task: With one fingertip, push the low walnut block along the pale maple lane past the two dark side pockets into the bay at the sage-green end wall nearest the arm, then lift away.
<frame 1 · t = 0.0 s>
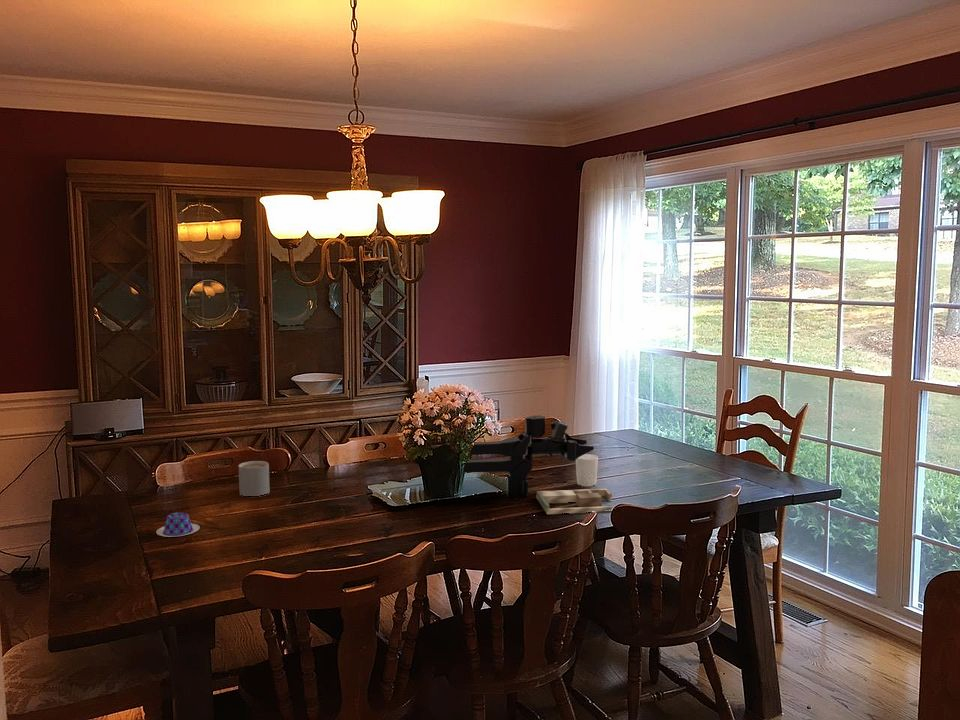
hand: (590, 444, 271), 17 cm above the table, tool horizontal, fingers open, 9 cm apart
coffee mug: (254, 492, 275), on the table
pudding: (178, 532, 234), on the table
white cup: (586, 484, 283), on the table
trap lane: (577, 504, 259), on the table
walnut block: (588, 507, 256), resting in trap lane
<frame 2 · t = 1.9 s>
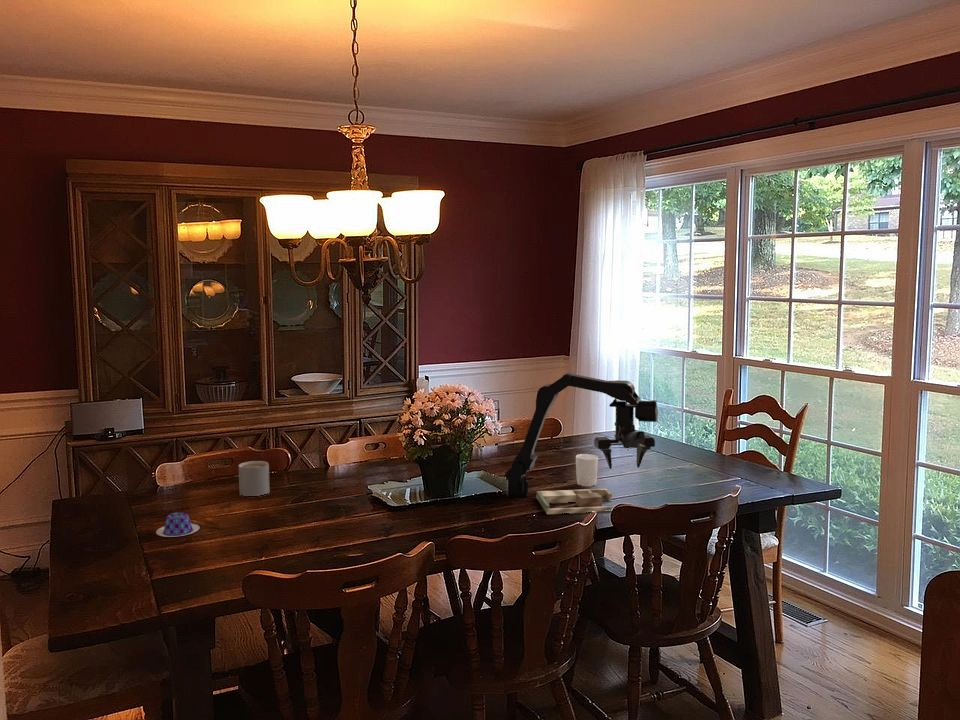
hand: (624, 468, 256), 12 cm above the table, tool pointing down, fingers open, 9 cm apart
nothing on the table moved.
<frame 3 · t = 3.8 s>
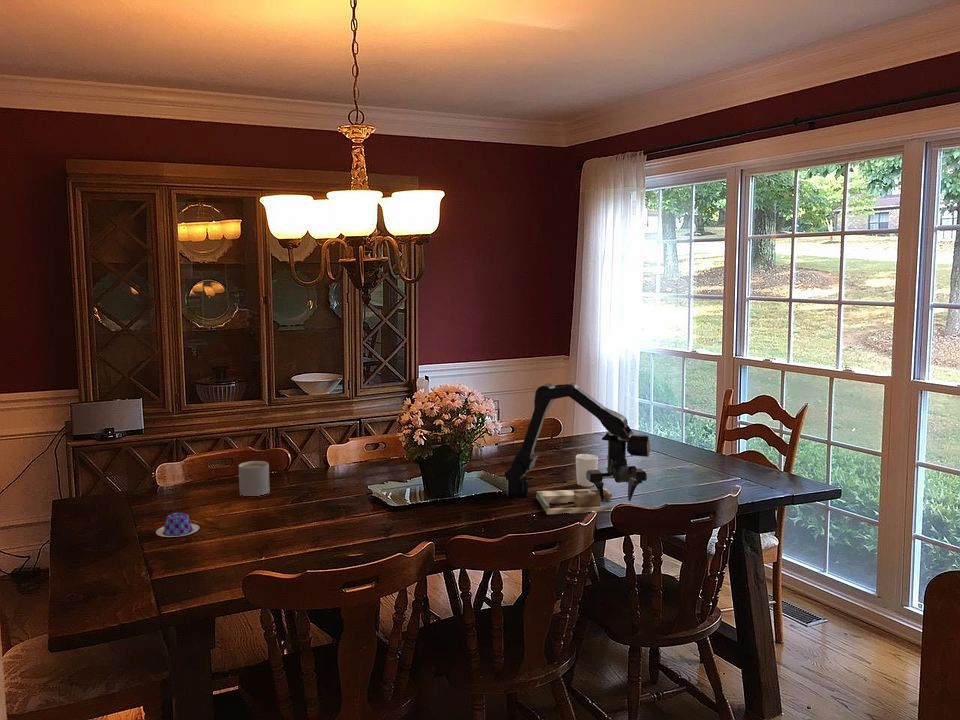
hand: (615, 501, 257), 1 cm above the table, tool pointing down, fingers open, 9 cm apart
walnut block: (587, 507, 256), resting in trap lane, touching gripper
everything else where it was.
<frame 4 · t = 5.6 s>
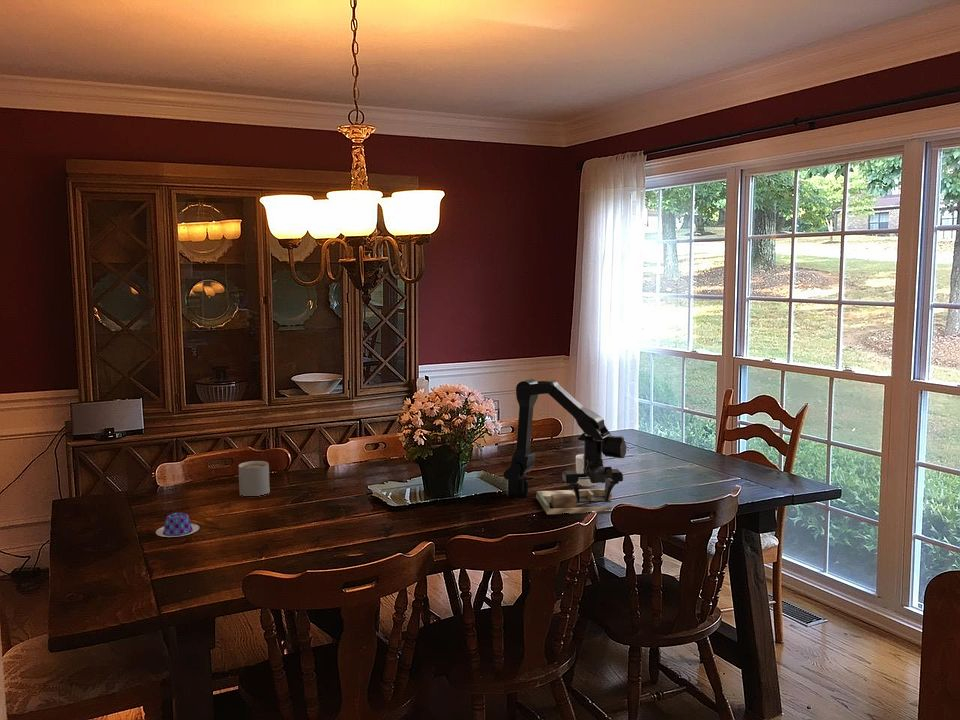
hand: (592, 502, 256), 2 cm above the table, tool pointing down, fingers open, 9 cm apart
walnut block: (563, 508, 256), resting in trap lane
everything else where it was.
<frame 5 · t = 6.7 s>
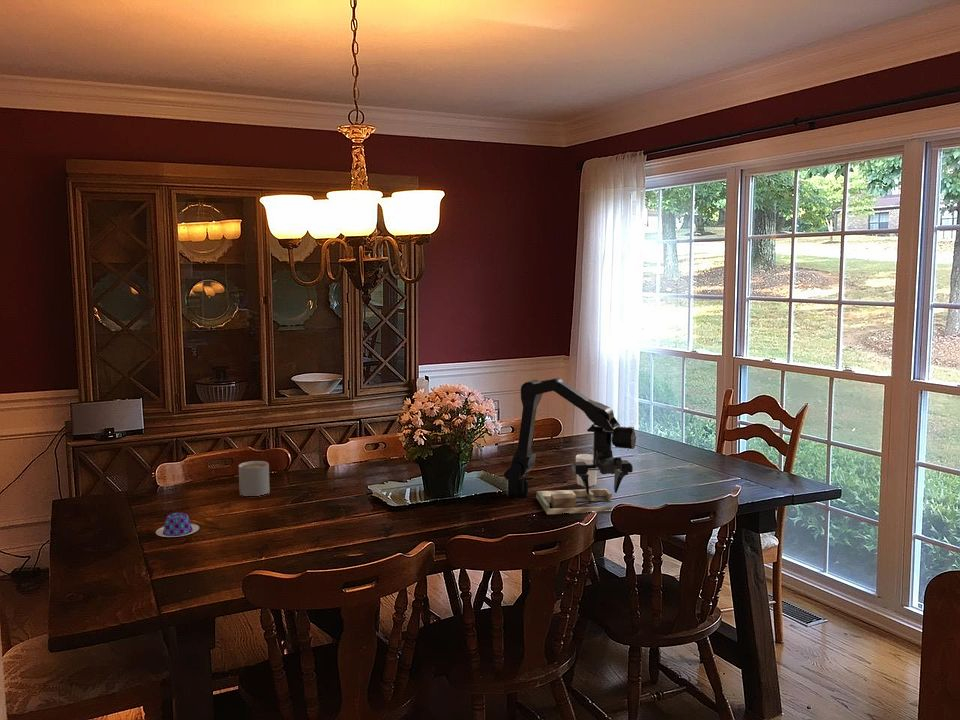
hand: (601, 493, 256), 4 cm above the table, tool pointing down, fingers open, 9 cm apart
nothing on the table moved.
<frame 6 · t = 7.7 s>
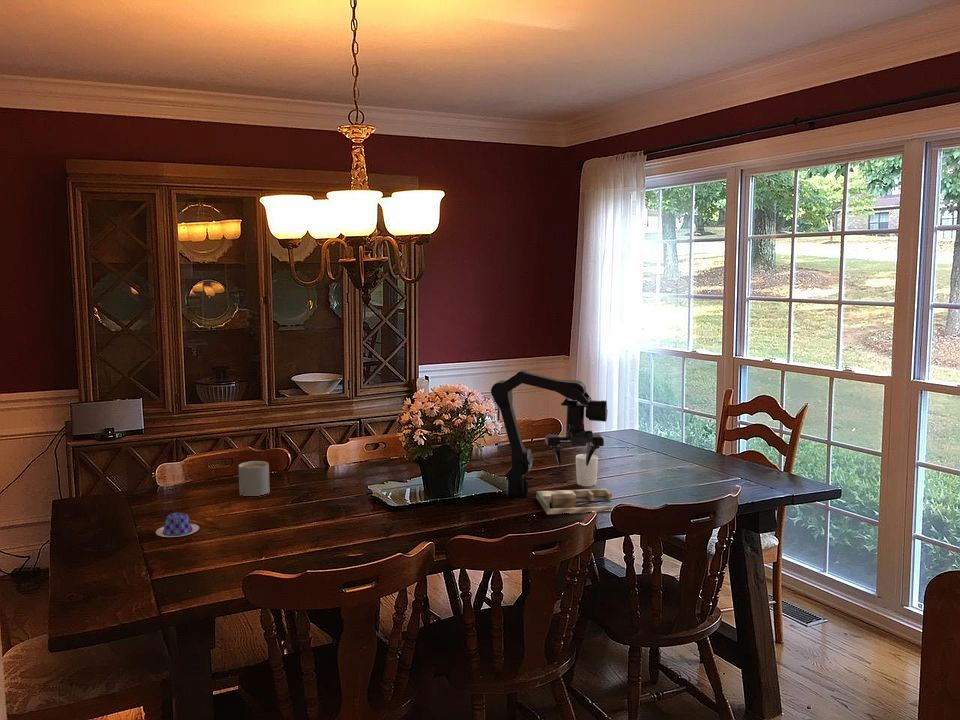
hand: (573, 465, 263), 11 cm above the table, tool pointing down, fingers open, 9 cm apart
nothing on the table moved.
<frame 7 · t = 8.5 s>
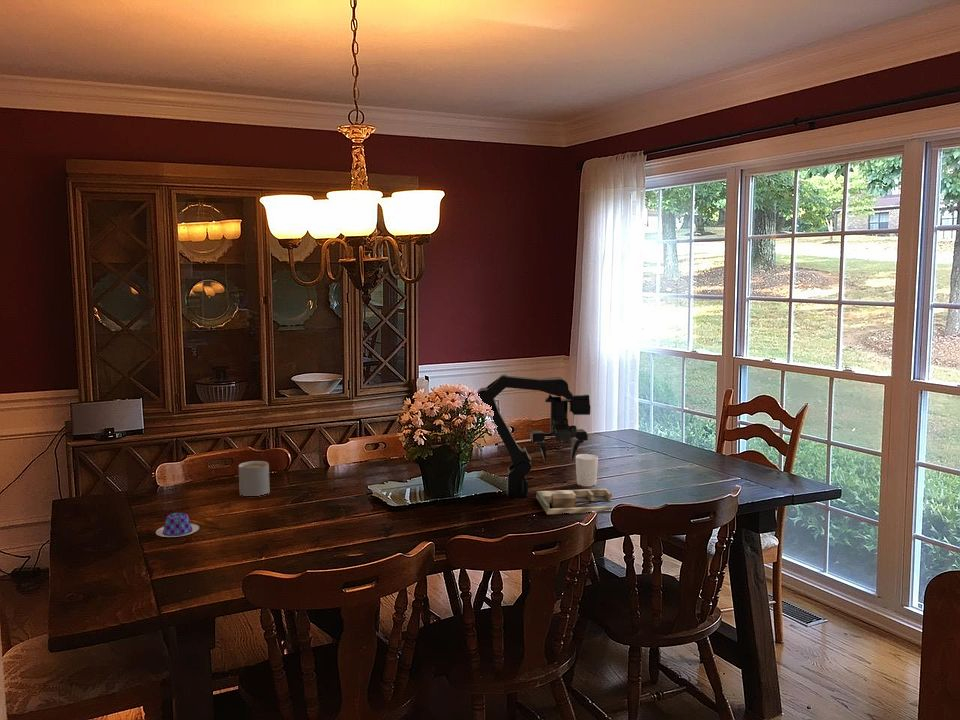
hand: (558, 460, 268), 12 cm above the table, tool pointing down, fingers open, 9 cm apart
nothing on the table moved.
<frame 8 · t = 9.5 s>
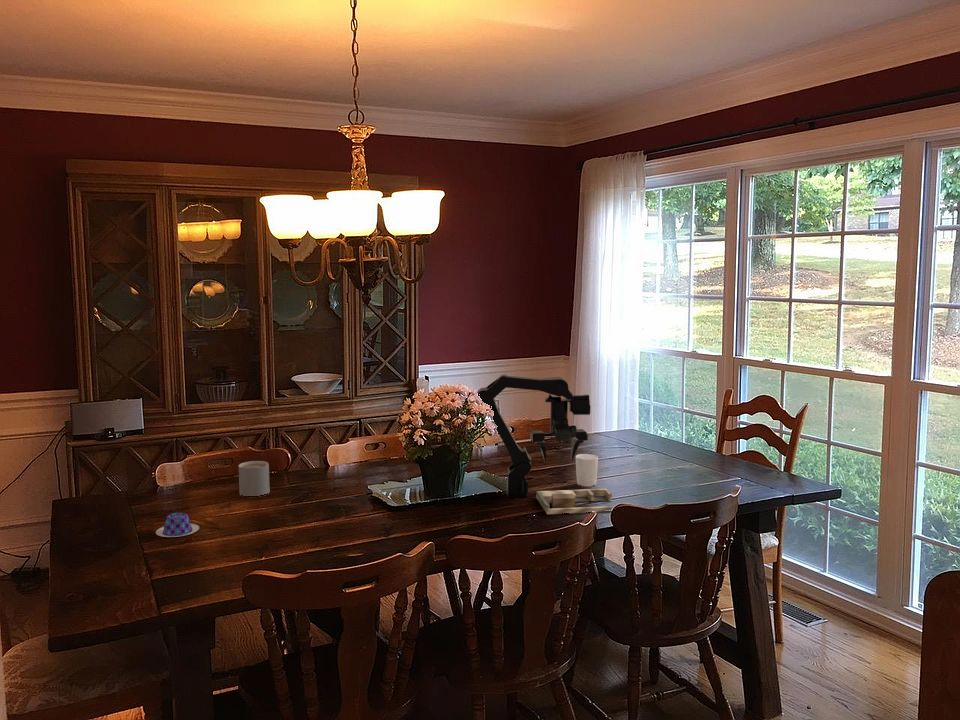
hand: (558, 460, 268), 12 cm above the table, tool pointing down, fingers open, 9 cm apart
nothing on the table moved.
at the end: walnut block inside the target area (0.3 cm from its centre), resting in trap lane; walnut block tilted 0°; the gripper is holding nothing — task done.
